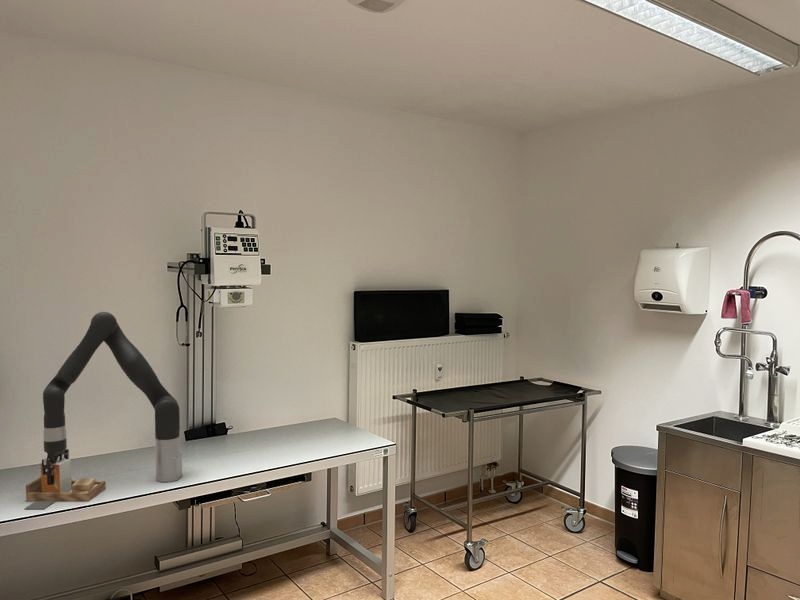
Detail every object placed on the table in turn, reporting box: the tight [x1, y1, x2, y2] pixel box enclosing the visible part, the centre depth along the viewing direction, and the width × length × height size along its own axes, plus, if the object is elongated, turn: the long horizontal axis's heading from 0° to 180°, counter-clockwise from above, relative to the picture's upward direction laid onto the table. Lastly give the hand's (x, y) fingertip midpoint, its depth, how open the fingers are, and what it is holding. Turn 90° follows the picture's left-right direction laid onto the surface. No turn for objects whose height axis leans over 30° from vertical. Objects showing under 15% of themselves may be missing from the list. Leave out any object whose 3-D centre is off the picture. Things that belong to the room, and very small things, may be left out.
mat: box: [24, 501, 56, 511], centre depth 218 cm, size 7×7×1 cm
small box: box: [40, 458, 72, 493], centre depth 229 cm, size 8×6×13 cm
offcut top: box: [72, 477, 96, 492], centre depth 229 cm, size 6×7×2 cm
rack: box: [25, 476, 107, 503], centre depth 229 cm, size 23×13×6 cm, turn 90°
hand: (56, 481), depth 229 cm, fingers closed on small box, 6 cm apart
